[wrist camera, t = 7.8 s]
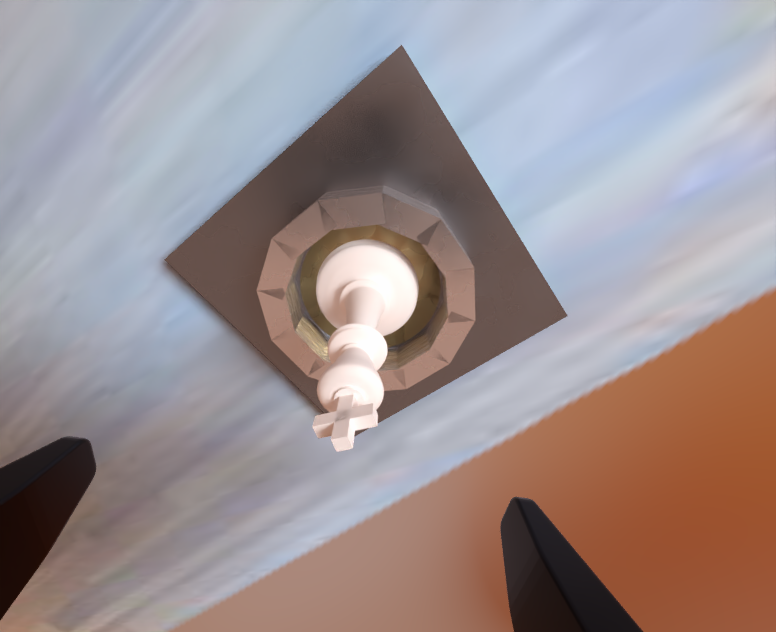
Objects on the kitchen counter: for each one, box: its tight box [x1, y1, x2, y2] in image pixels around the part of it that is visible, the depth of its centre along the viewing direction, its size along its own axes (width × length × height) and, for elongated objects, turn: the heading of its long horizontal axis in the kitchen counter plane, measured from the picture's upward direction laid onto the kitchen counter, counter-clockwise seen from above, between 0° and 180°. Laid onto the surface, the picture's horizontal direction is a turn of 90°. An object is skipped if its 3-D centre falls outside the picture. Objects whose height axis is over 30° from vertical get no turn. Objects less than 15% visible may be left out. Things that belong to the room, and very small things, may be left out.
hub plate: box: [165, 45, 567, 436], centre depth 18 cm, size 14×14×3 cm
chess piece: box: [312, 239, 419, 452], centre depth 14 cm, size 5×5×10 cm
